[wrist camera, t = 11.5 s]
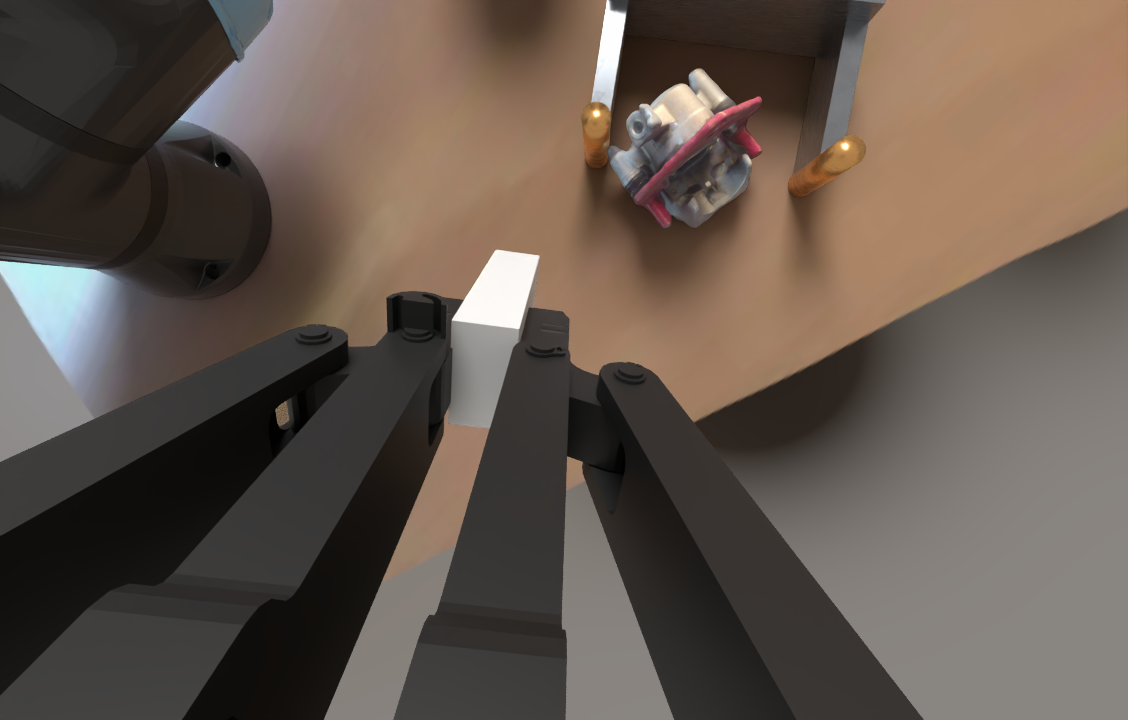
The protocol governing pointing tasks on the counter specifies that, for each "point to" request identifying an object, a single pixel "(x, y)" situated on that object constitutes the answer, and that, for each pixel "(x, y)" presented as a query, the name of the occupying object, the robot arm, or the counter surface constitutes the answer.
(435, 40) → the counter surface
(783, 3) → the bracket
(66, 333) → the counter surface
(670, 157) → the brake caliper
